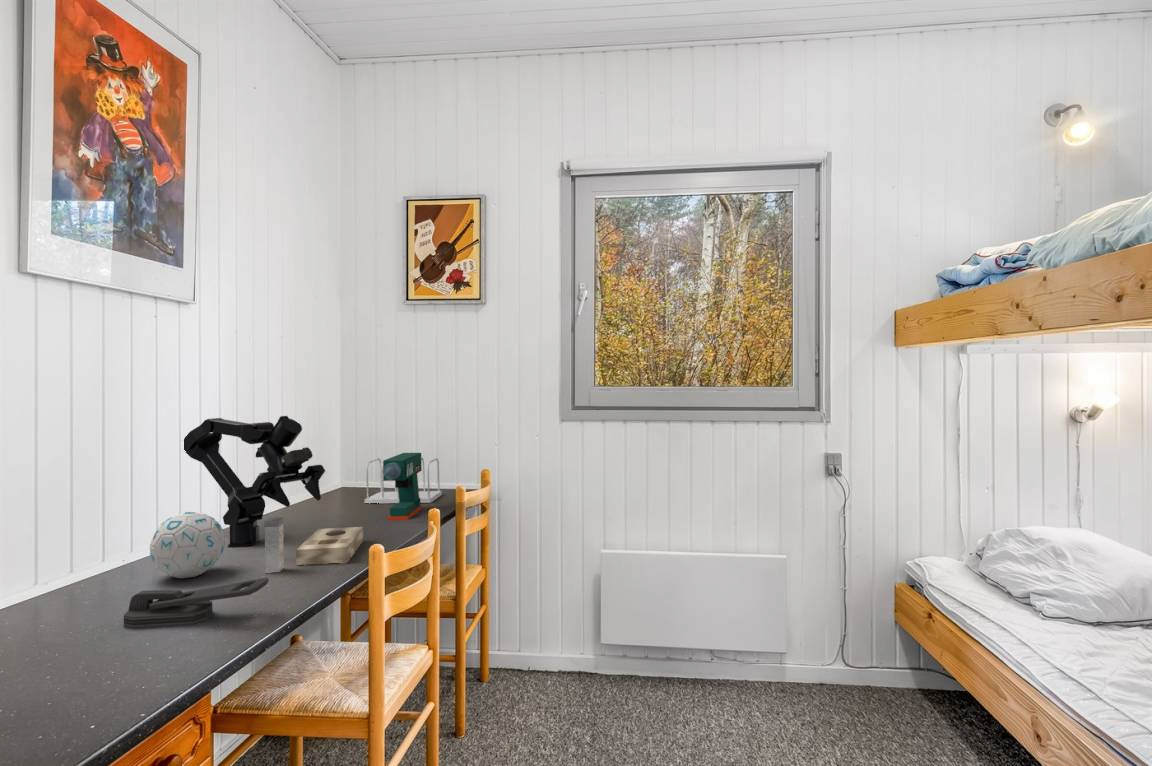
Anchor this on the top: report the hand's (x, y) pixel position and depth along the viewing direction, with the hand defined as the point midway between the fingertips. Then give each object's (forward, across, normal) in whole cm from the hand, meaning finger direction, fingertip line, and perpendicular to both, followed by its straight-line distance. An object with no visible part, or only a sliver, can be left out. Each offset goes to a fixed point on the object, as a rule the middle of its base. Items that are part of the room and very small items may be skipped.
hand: (304, 502), depth 164 cm
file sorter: (-13, +68, +33) cm, 77 cm away
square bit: (+14, -13, +5) cm, 20 cm away
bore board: (+13, +4, +6) cm, 15 cm away
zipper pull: (+24, -39, -5) cm, 46 cm away
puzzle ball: (+4, -25, +16) cm, 30 cm away
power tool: (+3, +43, +16) cm, 46 cm away
